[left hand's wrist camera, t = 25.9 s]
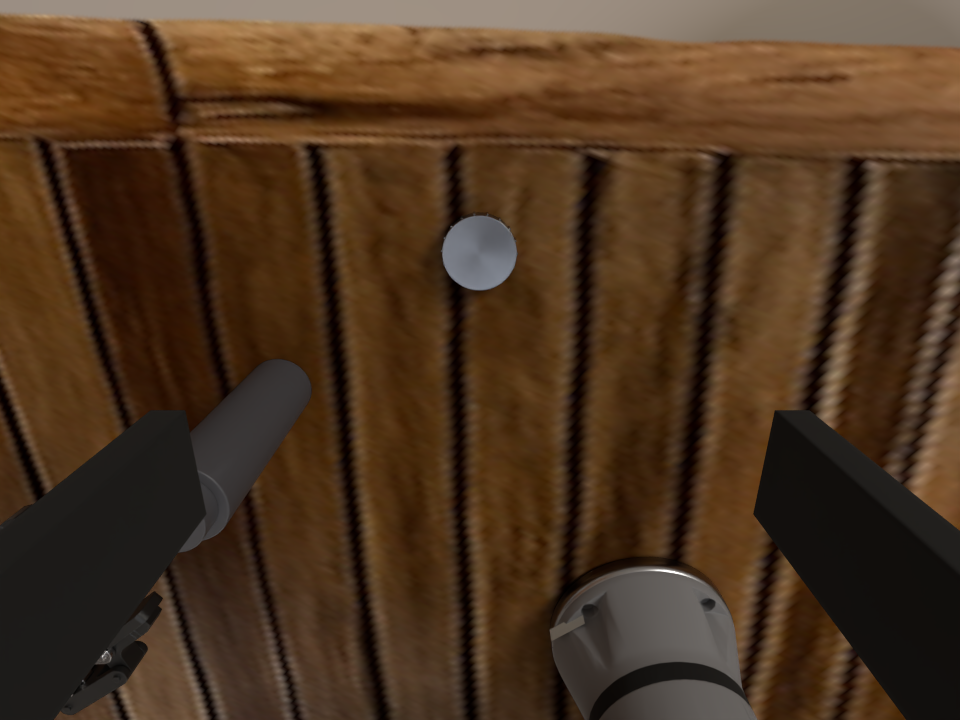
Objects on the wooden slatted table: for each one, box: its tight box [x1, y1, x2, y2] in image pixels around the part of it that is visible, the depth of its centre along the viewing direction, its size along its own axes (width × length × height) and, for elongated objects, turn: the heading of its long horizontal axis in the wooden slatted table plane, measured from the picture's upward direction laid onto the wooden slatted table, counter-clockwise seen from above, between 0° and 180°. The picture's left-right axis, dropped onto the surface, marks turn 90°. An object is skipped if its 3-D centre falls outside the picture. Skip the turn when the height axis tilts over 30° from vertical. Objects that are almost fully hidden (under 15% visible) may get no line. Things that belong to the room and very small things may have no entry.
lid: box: [441, 212, 518, 290], centre depth 36 cm, size 5×5×2 cm
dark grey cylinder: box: [179, 359, 311, 552], centre depth 33 cm, size 4×4×16 cm
